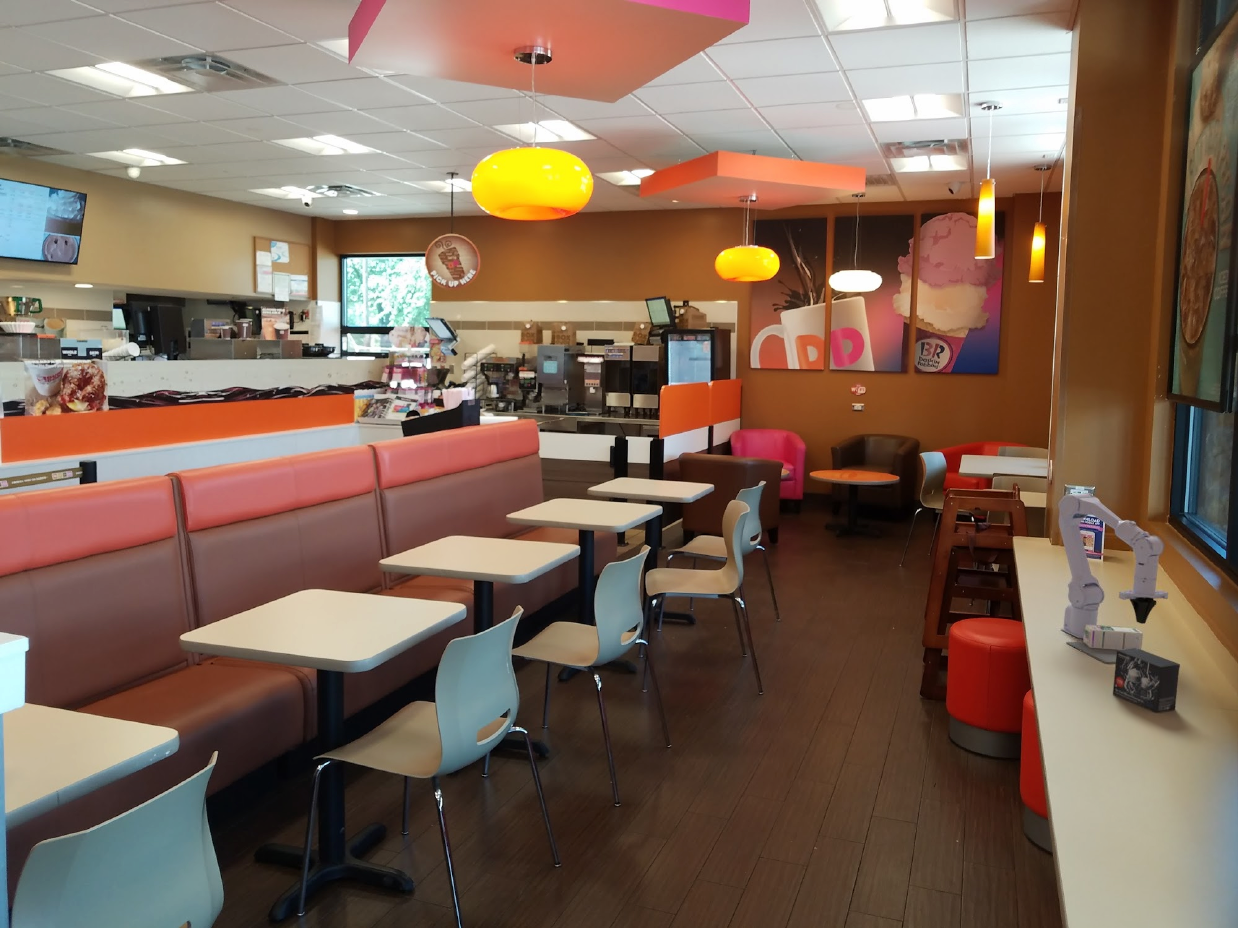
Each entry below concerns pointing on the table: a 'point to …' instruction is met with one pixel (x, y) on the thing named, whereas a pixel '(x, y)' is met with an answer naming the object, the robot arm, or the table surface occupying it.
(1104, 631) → the syrup box
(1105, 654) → the grey mat
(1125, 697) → the small box
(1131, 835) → the table surface
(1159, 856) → the table surface
